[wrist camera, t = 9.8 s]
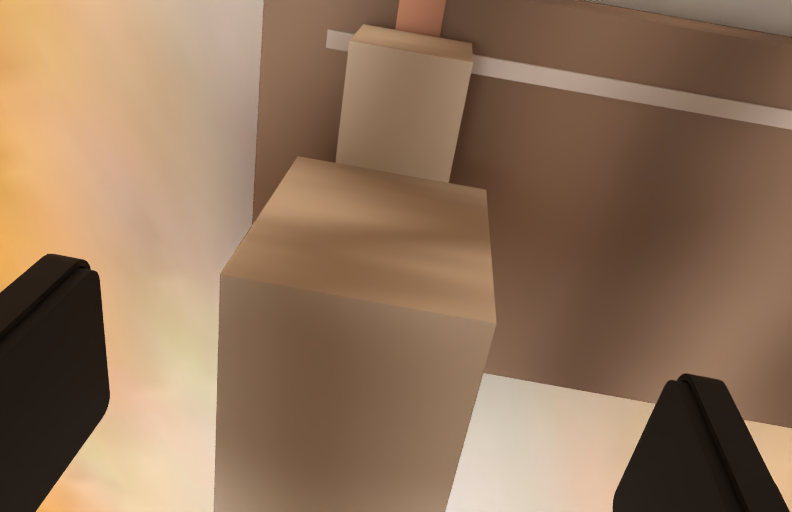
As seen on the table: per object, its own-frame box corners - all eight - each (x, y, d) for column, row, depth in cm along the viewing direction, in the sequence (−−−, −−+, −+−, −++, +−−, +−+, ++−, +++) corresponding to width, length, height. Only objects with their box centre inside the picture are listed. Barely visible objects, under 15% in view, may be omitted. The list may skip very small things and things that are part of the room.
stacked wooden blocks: (503, 32, 16) (541, 158, 8) (425, 380, 21) (403, 664, 13) (342, 4, 16) (224, 103, 8) (305, 358, 21) (211, 628, 13)
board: (1146, 99, 16) (1236, 125, 14) (924, 412, 21) (970, 462, 19) (288, -51, 16) (265, -45, 14) (265, 294, 21) (245, 332, 19)
